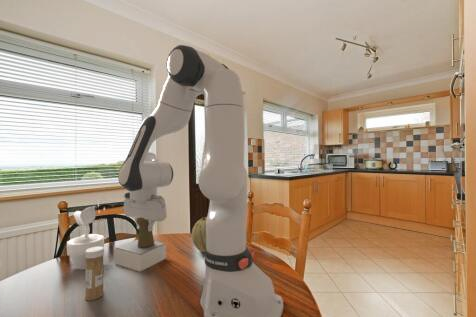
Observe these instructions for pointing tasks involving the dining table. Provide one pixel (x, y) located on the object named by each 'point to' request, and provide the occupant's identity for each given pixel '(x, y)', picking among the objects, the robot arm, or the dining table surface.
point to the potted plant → (84, 238)
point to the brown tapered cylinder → (144, 234)
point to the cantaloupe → (199, 234)
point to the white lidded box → (139, 255)
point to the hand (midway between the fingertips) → (144, 229)
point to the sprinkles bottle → (94, 273)
